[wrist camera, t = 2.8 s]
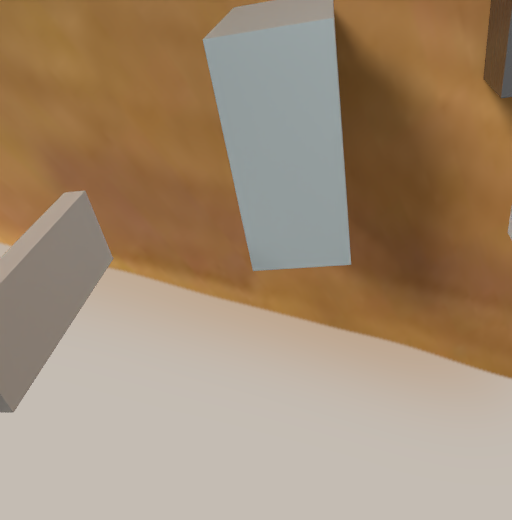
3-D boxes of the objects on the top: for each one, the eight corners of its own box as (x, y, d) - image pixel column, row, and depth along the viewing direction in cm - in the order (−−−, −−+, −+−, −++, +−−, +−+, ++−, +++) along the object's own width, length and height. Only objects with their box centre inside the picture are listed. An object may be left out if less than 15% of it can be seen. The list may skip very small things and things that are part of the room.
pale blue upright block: (275, 167, 28) (253, 270, 20) (247, -7, 23) (202, 39, 15) (344, 159, 27) (351, 264, 19) (331, -22, 22) (333, 17, 14)
